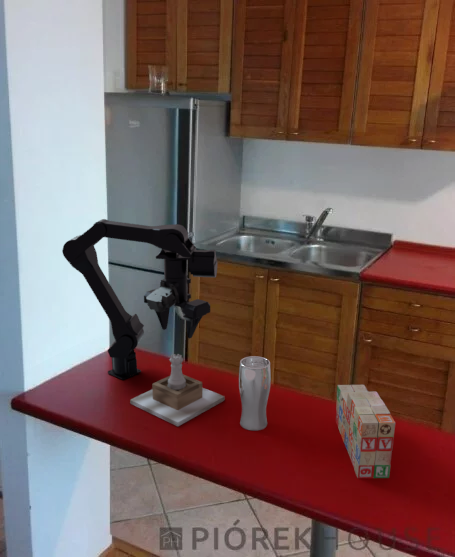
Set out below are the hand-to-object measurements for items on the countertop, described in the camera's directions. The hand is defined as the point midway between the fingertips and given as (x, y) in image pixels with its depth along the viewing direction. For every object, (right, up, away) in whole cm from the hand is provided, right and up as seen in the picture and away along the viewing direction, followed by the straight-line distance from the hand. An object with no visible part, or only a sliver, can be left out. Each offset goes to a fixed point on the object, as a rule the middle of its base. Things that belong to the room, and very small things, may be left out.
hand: (176, 333), depth 148 cm
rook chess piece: (+1, -12, -11) cm, 16 cm away
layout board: (+1, -15, -10) cm, 19 cm away
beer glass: (+19, -18, -20) cm, 33 cm away
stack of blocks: (+41, -21, -28) cm, 54 cm away
